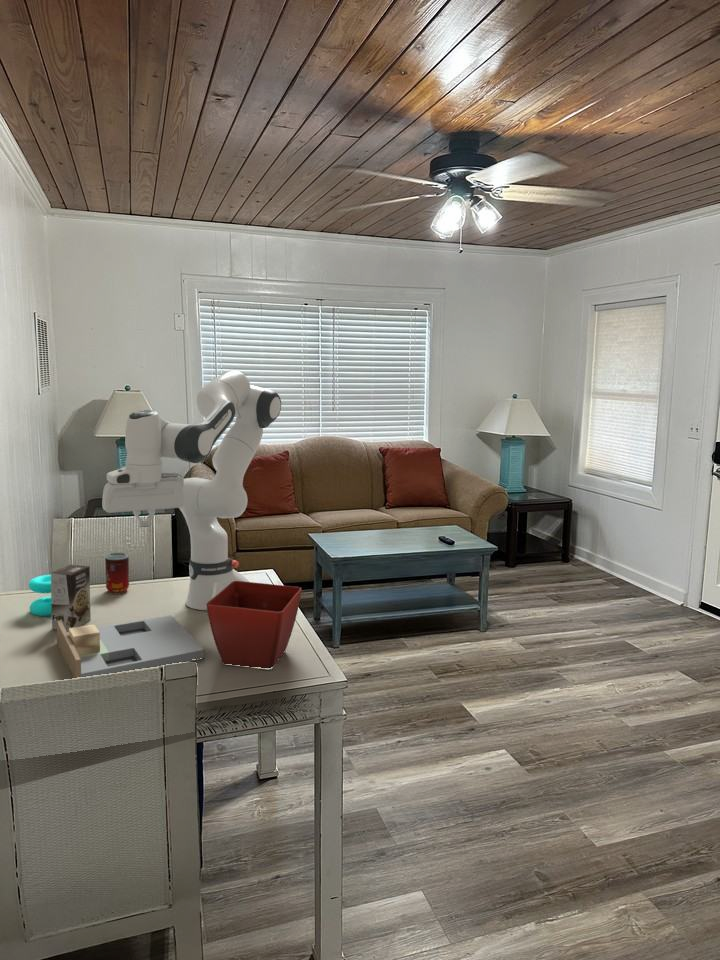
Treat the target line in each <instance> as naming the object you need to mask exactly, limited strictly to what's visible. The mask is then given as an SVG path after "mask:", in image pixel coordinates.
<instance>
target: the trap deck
mask: <svg viewBox="0 0 720 960" xmlns="http://www.w3.org/2000/svg"><path fill="white" fill-rule="evenodd" d="M96 627H97V629H98V631H99V632H100V652H95V653H90V654H84V655H78V653H77V651H76V649H75V647H74V645H73V643H72V641H71V639H70V637H69V631H66V629H65V627H64V625H63V624H62V622H61V620H60V621H57V629H56V638H57V639H56V640H57V641H56V643H57V645H58V647H59V650H60V651H61V654H62V656H63V658H64V661H65V662H67V663H66V664H68V665H67V667H68V669H69V668H70V669H69V671H70V670H71V671H70V673H71V676H72V675H73V676H72V677H73V679H74V678H77V677H86V676H93V675H101V674H109V673H117V672H122V671H129V670H135V669H142V668H150V667H157V666H161V665H166V664H172V663H179V662H187V661H192V662H196V661H195V660H192V659H196V660H197V659H200V658H204V659H205V649H204V648H203V647H202V646H201V645H200V643H198V642H197V641H196V640H195V639H194V637H192V635H191V634H190V633H189V632H188V631H187V629H185V628H184V627H183V625H181V624H180V622H179V621H177V620H176V618H175V617H174V616H173V615H171V614H169V615H164V616H157V617H152V618H145V619H139V620H134V621H125V622H120V623H115V624H114V623H113V624H108V625H103V626H102V625H101V626H96ZM197 661H198V660H197ZM187 663H188V662H187Z"/></svg>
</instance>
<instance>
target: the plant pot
mask: <svg viewBox="0 0 720 960" xmlns="http://www.w3.org/2000/svg"><path fill="white" fill-rule="evenodd" d="M301 595H302V587H299V586H292V585H291V586H290V585H282V584H270V583H262V582H254V581H253V582H251V581H249V582H244V581H233V582H231V583H230V584H229V585H228V586H227V587H226V588H224V589H223V590H222V591H221V592H220V593H218V594H217V595H216V596H215V597H214V598H212V599H211V600H210V601H209V602H208V603H207V610H206V611H207V616H208V622H209V626H210V630H211V634H212V637H213V641H214V644H215V646H216V650H217V652H218V654H219V657H220V659H221V662H222V664H223V663H224V664H232V665H240V666H249V667H261V668H271V667H273V666H274V665H275V664H276V665H277V663H278V662H279V661H278V659H279V658H280V657H282V656H283V655H284V654H285V652H286V651H287V647H288V645H289V642H290V639H291V636H292V633H293V630H294V626H295V623H296V619H297V616H298V611H299V606H300V601H301V597H302V596H301ZM284 651H285V652H284ZM282 654H283V655H282ZM281 655H282V656H281ZM280 659H281V658H280ZM280 659H279V660H280ZM277 661H278V662H277ZM276 662H277V663H276ZM224 664H223V665H224ZM276 665H275V666H276ZM275 666H274V667H275Z"/></svg>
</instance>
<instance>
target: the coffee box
mask: <svg viewBox="0 0 720 960" xmlns="http://www.w3.org/2000/svg"><path fill="white" fill-rule="evenodd" d="M90 569H91V568H90V566H89V565H78V564H77V565H76V564H68V565H67V566H64V567H62V568H60V569H57V570H55V571H52V572H50V575H51V593H50V596H51V607H52V615H51V629H52V630H57V621H60V620H61V622H62V624H63V625H64V627H65V629H66V631H67V632H69V628H74V627H80V626H84V625H86V623H88V622H90V621H91V619H92V617H91V616H92V615H91V612H92V611H91V580H90V579H91V576H90V574H91V573H90Z"/></svg>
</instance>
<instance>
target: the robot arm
mask: <svg viewBox="0 0 720 960" xmlns="http://www.w3.org/2000/svg"><path fill="white" fill-rule="evenodd" d="M196 396H197V397H196V404H197V405H196V406H197V408H198V411H199V412H200V415H201V416H202V417H203V418H204V420H203V421H202V422H200V423H198V424H197V423H196V424H195V423H194V424H193V423H192V424H189V423H188V424H187V423H177V422H170V421H168V420H166V419H164V418H163V417H161V416H160V414H159V412H158V411H156V410H153V409H152V410H150V409H149V410H148V409H146V410H137V411H134V412H132V413H130V414H129V415H128V417H127V420H126V423H125V432H124V433H125V437H124V438H125V440H124V442H125V443H124V444H125V445H124V446H125V449H126V459H125V466H123V467H121V468H118V469H115V470H112V471H109V472H107V474H106V480H107V483H105V485H104V486H103V490H102V491H103V492H102V499H101V500H102V501H101V504H102V505H101V506H102V509H103V511H105V512H106V513H108V514H112V513H114V514H115V513H125V512H126V513H127V512H132V514H133V515H134V516H135V519H136V520H137V527H138V528H150V527H151V526H152V520H153V518H154V516H155V514H156V510H164V509H165V510H167V509H168V510H169V509H177V508H178V509H179V510H180V512H181V513H182V515H183V517H184V519H185V522H186V525H187V526H188V527H187V528H188V530H189V535H190V537H189V538H190V559H189V564H188V569H189V571H188V572H189V574H188V575H189V578H190V579H189V588H188V592H187V597H186V600H185V605H186V606H187V607H188V608H191V609H194V610H198V611H199V610H200V611H207V603H208V602H209V601H210V600H211V599H212V598H214V597H215V596H216V595H217V594H218V593H220V592H221V591H222V590H223V589H224V588H226V587H227V586H228V585H229V584H230V583H231V582H233V581H244V582H250V581H249V579H248V578H247V577H246V576H244V575H242V574H241V573H240V572H239V571H237V570H235V569H234V568H238V567H239V566H240V564H239V561H237V560H236V559H232V558H230V557H229V556H228V553H229V552H228V545H229V543H228V542H229V541H228V539H229V538H228V533H227V531H226V530H225V529H224V528H223V527H222V526H221V524H220V523H219V521H218V518H220V519H232V518H235V519H236V518H239V517H241V516H242V515H243V513H244V512H245V511H246V509H247V506H248V495H247V492H246V490H245V487H244V484H243V483H244V477H245V474H246V472H247V470H248V468H249V466H250V464H251V462H252V460H253V458H254V456H255V455H256V453H257V451H258V449H259V446H260V445H261V441H262V439H263V433H264V429H266V428H268V427H269V426H271V424H272V423H274V422H275V420H276V419H277V418H278V417H279V415H280V413H281V410H282V400H281V396H280V395H279V393H278V392H276V391H274V390H272V389H269V388H263V387H261V386H257V385H253V384H251V382H250V380H249V378H248V377H247V376H246V374H244V373H242V372H241V371H238V370H229V371H228V372H224V373H222V374H220V375H218V376H216V377H215V378H213V379H212V380H210V381H209V382H208V383H206V384H205V385H204V386H203V387H202V388H201V389H200V390H199V392H198V393H197V395H196ZM234 419H235V422H234V424H233V425H231V424H232V423H233V420H234ZM230 425H231V427H230V428H229V426H230ZM228 428H229V430H228V431H227V433H226V434H225V435H224V437H223V439H222V440H221V442H220V444H219V445H218V447H217V448H216V451H215V452H214V454H213V455H212V459H211V462H212V465H213V468H214V469H215V471H216V472H215V475H214V477H213V478H212V479H207V478H202V477H187V478H184V476H183V475H181V474H179V473H178V472H173V473H171V472H169V473H167V472H165V473H164V472H163V471H162V470H163V469H162V467H163V466H162V465H163V464H162V459H168V460H174V461H175V460H176V461H184V462H187V463H191V464H192V463H193V464H200V463H202V462H203V461H204V460H205V459H207V457H208V456H209V455H210V454H211V451H212V449H213V447H214V445H215V443H216V442H217V441H218V440H219V438H220V437H221V436H222V435H223V434H224V433H225V431H226V430H227V429H228ZM141 511H147V513H148V515H147V517H146V518H143V519H141V517H140V515H142V513H141Z"/></svg>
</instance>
